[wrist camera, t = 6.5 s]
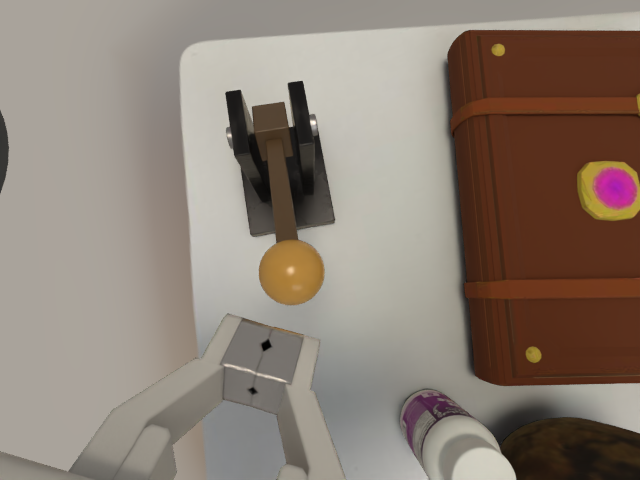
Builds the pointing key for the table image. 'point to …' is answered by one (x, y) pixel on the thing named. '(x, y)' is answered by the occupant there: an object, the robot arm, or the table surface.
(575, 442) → the brown lumpy potato
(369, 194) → the table surface
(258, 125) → the lever
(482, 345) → the book
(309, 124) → the black lever stand
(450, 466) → the pill bottle
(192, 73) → the table surface
